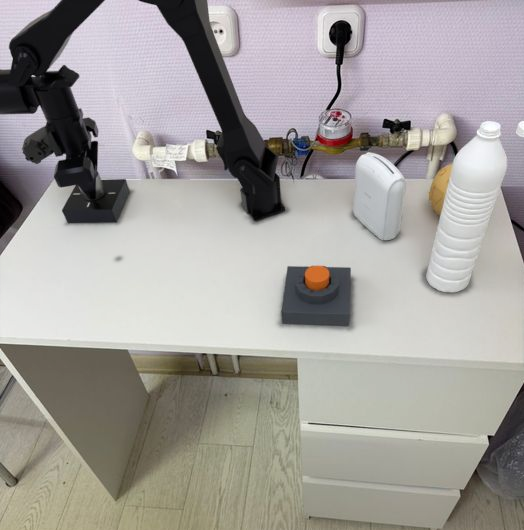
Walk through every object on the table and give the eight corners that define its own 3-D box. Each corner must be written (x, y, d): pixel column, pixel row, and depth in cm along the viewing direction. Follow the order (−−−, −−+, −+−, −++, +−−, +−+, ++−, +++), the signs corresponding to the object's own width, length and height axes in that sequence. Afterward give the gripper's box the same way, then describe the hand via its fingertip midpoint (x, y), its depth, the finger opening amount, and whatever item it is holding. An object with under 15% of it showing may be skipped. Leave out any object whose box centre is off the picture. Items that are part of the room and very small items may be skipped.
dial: (91, 186, 98) (83, 166, 95) (109, 189, 97) (102, 169, 93) (78, 198, 96) (70, 179, 92) (97, 202, 94) (89, 182, 91)
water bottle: (425, 291, 77) (463, 138, 57) (425, 263, 81) (460, 110, 61) (485, 296, 75) (545, 139, 56) (482, 267, 79) (537, 111, 59)
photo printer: (349, 213, 90) (352, 150, 81) (368, 205, 91) (375, 142, 82) (381, 244, 84) (389, 180, 75) (402, 236, 85) (413, 171, 76)
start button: (329, 274, 75) (329, 265, 74) (328, 291, 73) (328, 282, 72) (305, 273, 76) (305, 265, 74) (304, 290, 73) (304, 281, 72)
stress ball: (487, 205, 89) (504, 153, 81) (477, 238, 83) (494, 186, 76) (431, 195, 92) (442, 144, 84) (418, 226, 87) (428, 175, 79)
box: (349, 279, 80) (351, 258, 76) (348, 326, 74) (350, 305, 70) (288, 278, 81) (287, 257, 78) (282, 323, 75) (280, 303, 72)
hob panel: (130, 191, 101) (125, 178, 99) (116, 222, 95) (111, 208, 92) (83, 192, 102) (78, 179, 100) (67, 223, 96) (61, 209, 94)
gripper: (21, 95, 89) (56, 172, 101) (4, 147, 78) (47, 228, 90) (83, 85, 90) (110, 163, 102) (75, 135, 78) (108, 217, 90)
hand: (93, 191), depth 96 cm, fingers closed on dial, 4 cm apart
